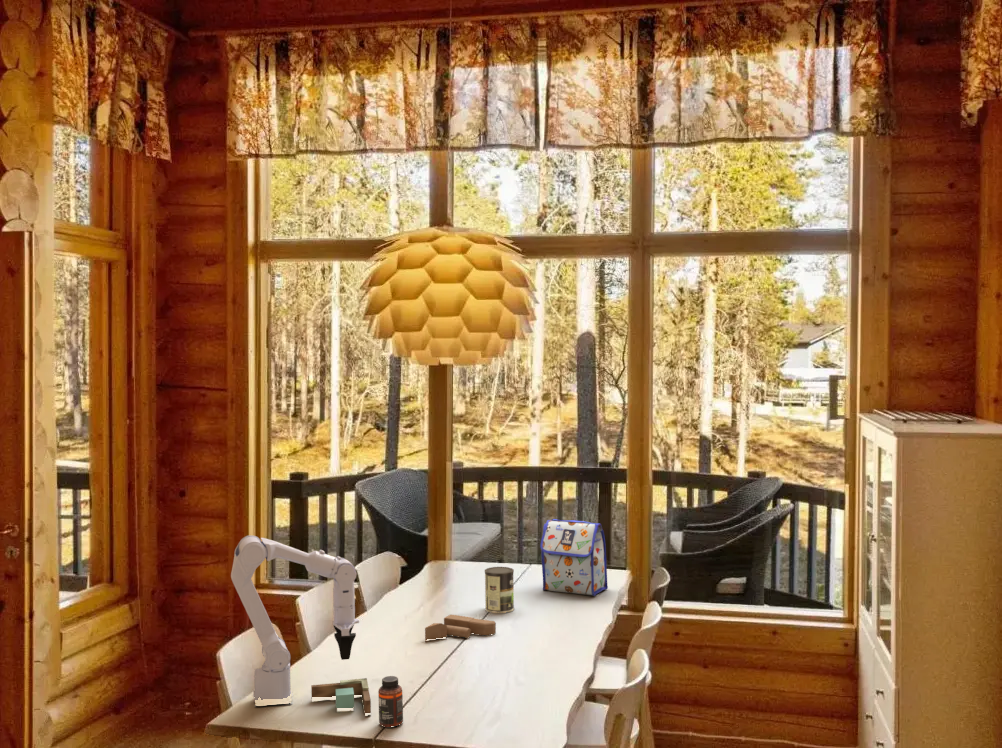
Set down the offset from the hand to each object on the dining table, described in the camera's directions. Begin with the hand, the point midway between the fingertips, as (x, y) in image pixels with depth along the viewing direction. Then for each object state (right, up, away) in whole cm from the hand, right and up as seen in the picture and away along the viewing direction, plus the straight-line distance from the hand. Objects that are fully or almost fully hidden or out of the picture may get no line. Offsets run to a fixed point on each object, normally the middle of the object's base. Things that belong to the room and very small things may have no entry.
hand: (344, 654), depth 246 cm
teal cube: (+2, -10, -12) cm, 16 cm away
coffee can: (+42, -8, +75) cm, 86 cm away
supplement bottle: (+15, -11, -22) cm, 29 cm away
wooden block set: (+29, -9, +45) cm, 54 cm away
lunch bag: (+70, -7, +99) cm, 122 cm away
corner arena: (+1, -10, -12) cm, 16 cm away
